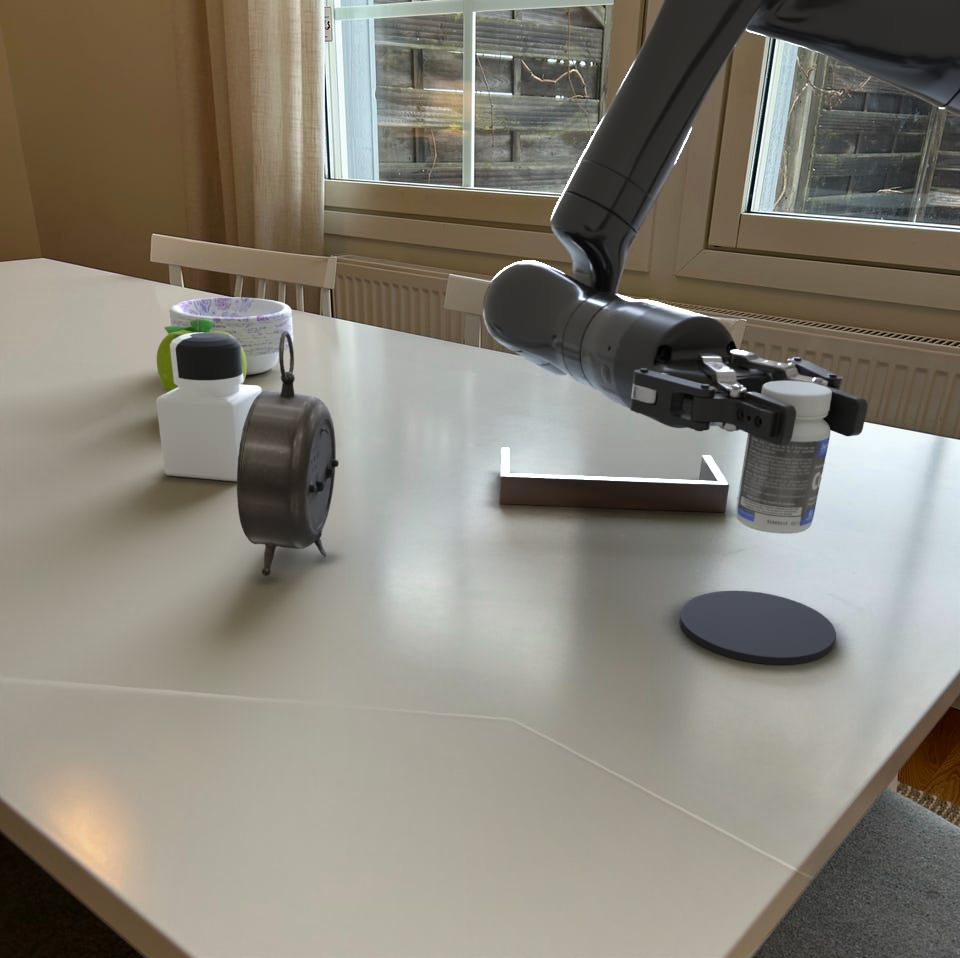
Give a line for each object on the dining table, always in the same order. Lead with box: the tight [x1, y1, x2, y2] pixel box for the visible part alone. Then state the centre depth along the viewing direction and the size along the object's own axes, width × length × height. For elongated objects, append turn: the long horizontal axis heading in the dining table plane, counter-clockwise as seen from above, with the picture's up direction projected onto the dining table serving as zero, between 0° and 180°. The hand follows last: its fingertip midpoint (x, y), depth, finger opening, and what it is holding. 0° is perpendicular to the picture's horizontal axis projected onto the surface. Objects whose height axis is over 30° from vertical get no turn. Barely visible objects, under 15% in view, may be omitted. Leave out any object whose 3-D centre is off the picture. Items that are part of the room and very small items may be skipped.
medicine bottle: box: [155, 332, 263, 482], centre depth 89 cm, size 7×7×12 cm
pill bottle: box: [735, 381, 832, 535], centre depth 60 cm, size 5×5×8 cm
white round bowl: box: [169, 296, 294, 376], centre depth 127 cm, size 15×15×8 cm
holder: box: [498, 447, 730, 513], centre depth 88 cm, size 9×20×2 cm, turn 89°
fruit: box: [156, 319, 247, 393], centre depth 107 cm, size 9×9×10 cm
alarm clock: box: [236, 331, 339, 577], centre depth 70 cm, size 11×5×16 cm, turn 174°
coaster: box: [679, 590, 837, 666], centre depth 65 cm, size 10×10×1 cm
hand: (824, 422), depth 56 cm, fingers closed on pill bottle, 4 cm apart
